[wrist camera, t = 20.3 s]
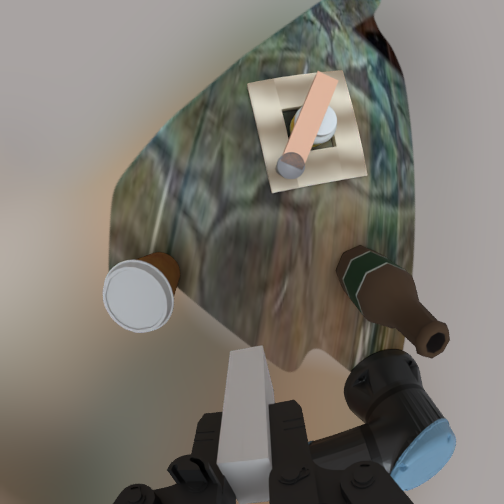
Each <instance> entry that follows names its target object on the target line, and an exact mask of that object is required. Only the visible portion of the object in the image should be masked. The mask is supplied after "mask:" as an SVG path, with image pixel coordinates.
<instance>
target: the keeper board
mask: <svg viewBox="0 0 504 504" xmlns="http://www.w3.org/2000/svg"><path fill="white" fill-rule="evenodd" d="M321 73H323V74H325V75H328V76H330V77H332V78H334V79H336V80H338V83H337V86H336V88H335V91H334V93H333V96H332V98H331V101H330V103H329V106H330V107H331V108H332V109H333V110H334V112H335V114H336V117H337V128H336V131H335V133H334V135H333V136H332V138H331V140H332V144H333V147H330V148H324V149H318V150H312V151H310V153H309V155H308V158H307V160H306V163H305V170H304V172H303V174H302V175H301V176H300V177H298V178H296V179H286V178H284V177H282V176H281V175H280V174H279V173H278V171H277V161H278V159H279V158H280V157H281V156H282V154H283V152H284V149H285V147H286V144H287V142H288V140H289V139H288V135H287V131H286V126H285V122H284V118H283V114H282V112H285V111H291V110H297V109H300V108H301V107H302V106H303V104H304V101H305V99H306V96H307V94H308V92H309V89H310V87H311V84H312V82H313V80H314V77H315V75H316V74H317V73H310V74H302V75H295V76H288V77H281V78H275V79H269V80H263V81H258V82H252V83H247V88H248V92H249V96H250V100H251V105H252V109H253V113H254V117H255V122H256V126H257V130H258V134H259V139H260V143H261V148H262V152H263V156H264V161H265V165H266V170H267V175H268V179H269V184H270V188H271V193H275V192H280V191H285V190H290V189H295V188H300V187H305V186H311V185H316V184H321V183H327V182H332V181H338V180H343V179H349V178H355V177H361V176H367V169H366V164H365V159H364V154H363V149H362V145H361V140H360V135H359V131H358V127H357V122H356V118H355V114H354V110H353V106H352V102H351V99H350V95H349V91H348V88H347V84H346V80H345V77H344V74H343V70H340V71H329V72H321Z"/></svg>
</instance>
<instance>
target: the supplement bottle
mask: <svg viewBox="0 0 504 504" xmlns="http://www.w3.org/2000/svg"><path fill="white" fill-rule="evenodd" d="M301 108H302V107H301ZM301 108H300V109H299V110H298V111H297V113H296V114H295V116H294V117H293V119H292V121H291V123H290V127H289V132H290V135H291V132H292V130H293V128H294V125H295V123H296V120H297V118H298V116H299V113H300V111H301ZM336 128H337V117H336V114H335V112H334V110H333V109H332V108H331V107H330V106H328V108H327V111H326V113H325V116H324V118H323V121H322V123H321V126H320V128H319V131H318V133H317V136H316V138H315V140H314V143H313V145H312V147H316V146H318V145H320V144H322V143H324V142H327V141H328V140H329V139H331V138H332V136H333V135H334V133H335V131H336Z"/></svg>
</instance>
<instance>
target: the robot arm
mask: <svg viewBox="0 0 504 504" xmlns="http://www.w3.org/2000/svg"><path fill="white" fill-rule="evenodd" d="M344 396H345V399H346V402H347V404H348V406H349V408H350V410H351V411H352V412H353V413H354V414H355V415H356V416H358V417H359V418H360V419H361V420H362V421H363V422H364V423H365V424H363V425H361V426H358V427H355V428H352V429H349V430H347V431H344V432H341V433H338V434H335V435H333V436H329V437H326V438H323V439H319V440H316V441H310V442H308V439H307V434H306V429H305V423H304V418H303V413H302V408H301V406H300V405H299V404H298V403H297V402H296V401H295V400H290V401H285V402H279V403H275V401H274V390H273V386H272V383H271V378H270V374H269V370H268V366H267V362H266V358H265V353H264V349H263V345H262V346H256V347H251V348H245V349H239V350H234V351H230V358H229V365H228V373H227V381H226V389H225V397H224V406H223V412H216V413H206V414H204V415H203V417H202V418H201V419H200V421H199V422H198V424H197V429H196V435H195V439H194V444H193V448H192V453H191V454H190V455H184V456H181V457H179V458H177V459H175V460H174V461H173V462H172V463H171V464H170V465H169V467H168V469H167V471H168V472H169V473H170V475H171V476H172V478H173V479H174V480H175V482H176V483H177V484H175V485H172V486H169V487H165V488H161V489H156V490H152V489H151V488H150V487H149V486H147V485H145V484H133V485H130V486H128V487H126V488H125V489H124V490H123V491H122V492H121V493H120V494H119V496H118V497H117V499H116V500H115V502H114V503H113V504H236V499H237V501H238V502H239V504H246V503H257V502H267V501H269V503H270V504H414V503H413V502H412V501H411V500H410V499H409V497H408V496H407V495H406V494H405V493H404V490H406V491H408V490H410V489H413V488H415V487H418V486H420V485H421V484H423V483H424V482H426V481H428V480H429V479H431V478H432V477H433V476H434V475H436V474H437V473H438V472H439V471H440V470H441V469H442V468H443V467H444V465H445V464H446V463H447V462H448V461H449V459H450V458H451V456H452V454H453V452H454V449H455V446H456V438H455V435H454V433H453V431H452V430H451V428H450V426H449V422H448V421H447V419H445V418H444V416H443V415H442V414H441V412H440V411H439V409H438V408H437V407H436V405H435V404H434V403H433V401H432V400H431V398H430V397H429V396H428V394H427V393H426V392H425V390H424V389H423V386H422V381H421V376H420V371H419V367H418V365H417V363H416V362H415V361H414V359H413V358H412V357H411V356H410V355H409V354H408V353H406V352H404V351H402V350H397V349H390V350H384V351H380V352H378V353H375V354H373V355H371V356H369V357H367V358H366V359H364V360H363V361H362V362H361V363H359V364H358V365H357V366H356V367H355V368H354V369H353V371H352V372H351V373H350V375H349V377H348V378H347V380H346V383H345V387H344Z"/></svg>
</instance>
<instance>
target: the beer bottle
mask: <svg viewBox="0 0 504 504" xmlns="http://www.w3.org/2000/svg"><path fill="white" fill-rule="evenodd" d="M336 272H337V275H338V277H339V280H340V283H341V285H342V287H343V289H344V291H345V292H346V294H347V295H348V296H349V297H350V299H351V300H352V301H353V303H354V304H355V305H356V307H357V308H358V309H359V311H360V312H361V313H362V315H363V316H364V317H365V318H366V319H367V320H368V321H370V322H373V323H376V324H380V325H383V326H386V327H389V328H396V329H397V330H398V331H399V332H400V333H402V334H403V335H404V336H405V337H406V338H407V339H408V340H409V341H410V342H411V343H412V344H413V345H414V346H415V347H416V351H417V354H420V355H422V356H425V357H429V358H433V357H435V356H437V355H439V354H440V353H442V352H443V351H444V349H445V347H446V346H447V344H448V342H449V340H450V338H449V330H448V328H447V325H446V324H445V323H443V322H440V321H437V319H436V318H435V317H434V316H432V314H431V313H430V312H429V311H428V310H427V309H426V308H425V307H424V306H423V305H422V304H421V303H420V302H419V299H418V295H417V290H416V286H415V283H414V280H413V277H412V276H411V275H410V274H409V273H408V272H407V271H406V270H404V269H403V268H401V267H400V266H398V265H397V264H395V263H394V262H392V261H391V260H389V259H387V258H386V257H384V256H383V255H381V254H379V253H377V252H375V251H373V250H370V249H368V248H365V247H363V246H361V245H360V246H357V247H355V248H353V249H351V250H349V251H347V252H345V253H343V255H342V257H341V260H340V262H339V265H338V267H337V269H336Z"/></svg>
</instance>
